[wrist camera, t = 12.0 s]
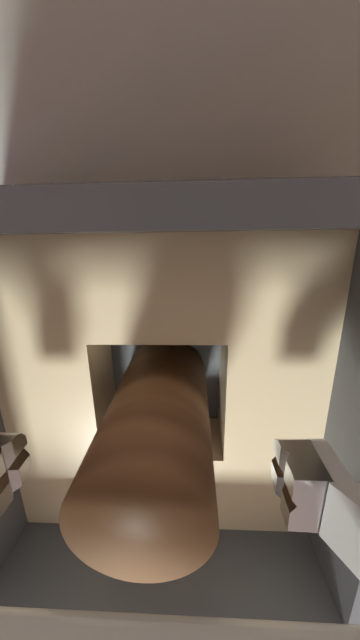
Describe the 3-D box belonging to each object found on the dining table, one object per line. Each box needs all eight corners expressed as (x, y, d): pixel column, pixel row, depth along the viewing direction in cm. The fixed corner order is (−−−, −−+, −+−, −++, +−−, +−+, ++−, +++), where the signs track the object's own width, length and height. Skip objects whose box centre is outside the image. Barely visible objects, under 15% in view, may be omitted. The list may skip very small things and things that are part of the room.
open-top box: (0, 214, 13) (-222, 190, 6) (335, 208, 13) (522, 172, 5) (50, 472, 18) (-43, 627, 11) (296, 478, 17) (369, 650, 10)
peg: (126, 337, 14) (46, 464, 6) (205, 337, 14) (221, 468, 6) (132, 404, 15) (70, 580, 7) (204, 405, 15) (217, 586, 7)
